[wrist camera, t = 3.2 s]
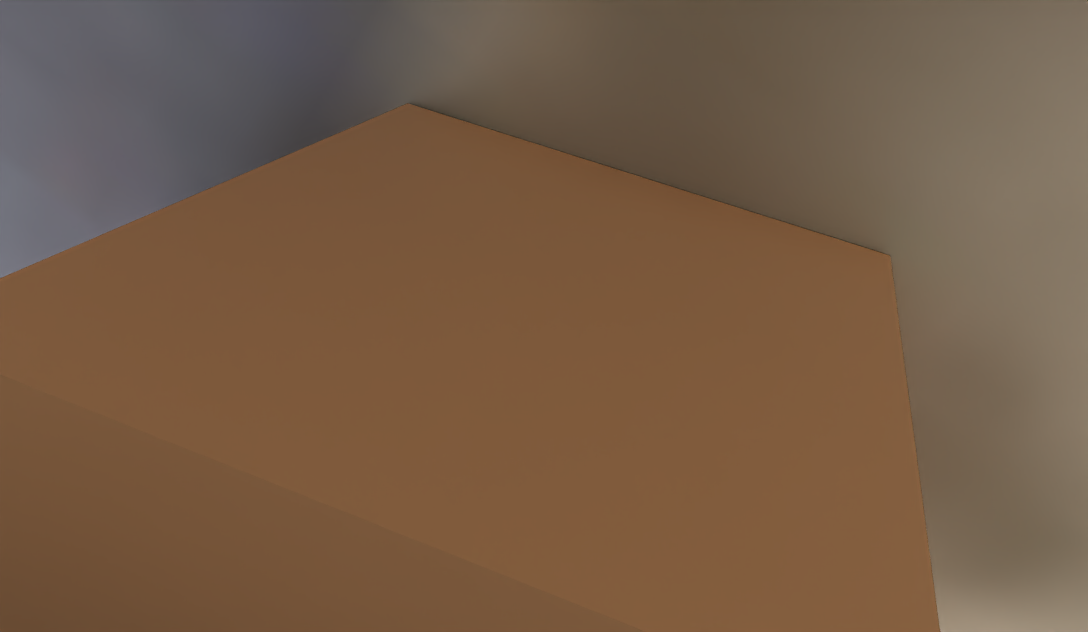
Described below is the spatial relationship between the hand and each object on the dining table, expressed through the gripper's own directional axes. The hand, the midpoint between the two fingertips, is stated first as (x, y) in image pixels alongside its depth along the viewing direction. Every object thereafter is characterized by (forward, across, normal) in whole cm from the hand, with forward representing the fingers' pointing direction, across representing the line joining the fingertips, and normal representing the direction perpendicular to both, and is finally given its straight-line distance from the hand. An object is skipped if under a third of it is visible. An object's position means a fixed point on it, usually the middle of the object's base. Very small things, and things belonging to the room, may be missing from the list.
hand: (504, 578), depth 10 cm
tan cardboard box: (+4, 0, 0) cm, 4 cm away
